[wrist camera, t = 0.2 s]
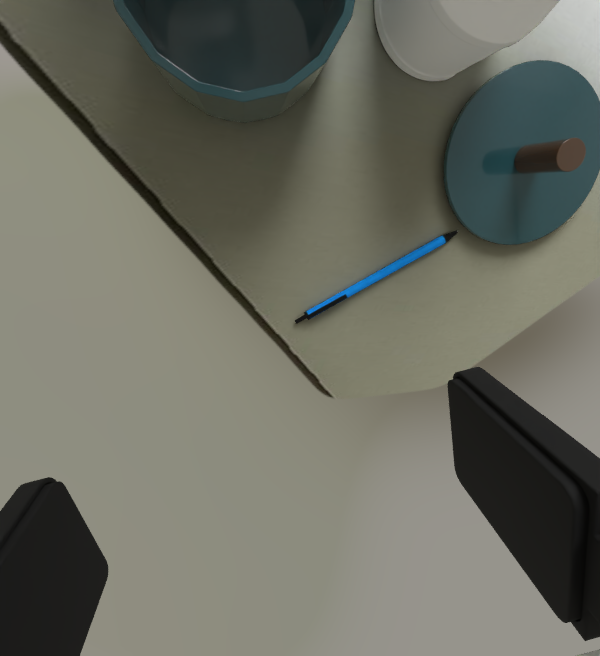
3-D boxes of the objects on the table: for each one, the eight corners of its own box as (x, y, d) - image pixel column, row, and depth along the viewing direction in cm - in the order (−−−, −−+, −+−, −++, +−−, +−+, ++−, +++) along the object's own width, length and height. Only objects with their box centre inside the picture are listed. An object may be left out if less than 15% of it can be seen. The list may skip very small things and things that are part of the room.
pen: (293, 317, 41) (294, 320, 40) (454, 226, 40) (460, 227, 39) (297, 324, 41) (298, 327, 40) (457, 234, 40) (463, 235, 39)
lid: (433, 85, 35) (473, 63, 29) (600, 46, 36) (675, 17, 30) (447, 259, 41) (482, 272, 35) (591, 223, 42) (651, 230, 35)
